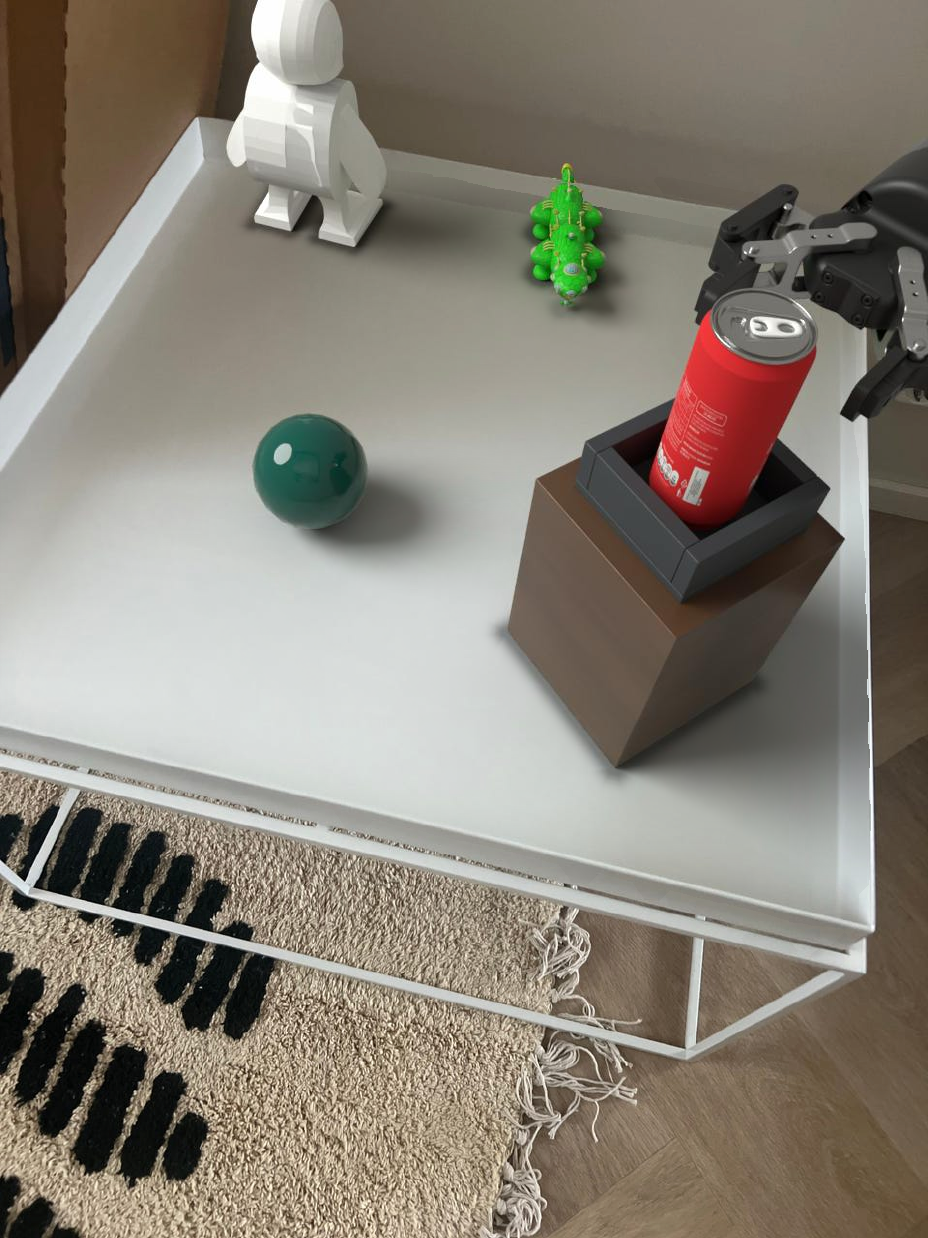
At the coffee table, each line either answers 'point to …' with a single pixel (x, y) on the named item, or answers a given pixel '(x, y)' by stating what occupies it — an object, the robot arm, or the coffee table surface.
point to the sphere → (310, 471)
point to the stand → (645, 620)
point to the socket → (657, 534)
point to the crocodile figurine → (566, 239)
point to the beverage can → (732, 404)
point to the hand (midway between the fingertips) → (776, 357)
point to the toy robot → (306, 124)
